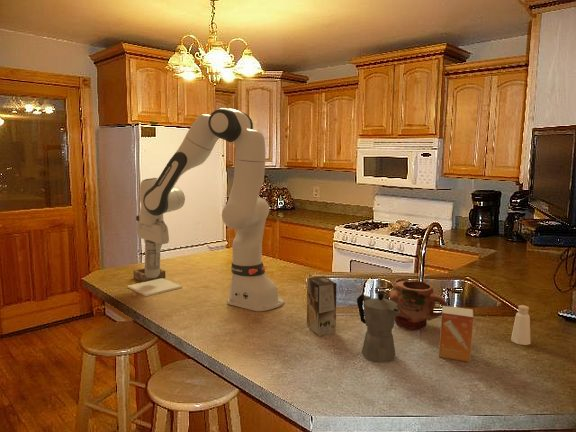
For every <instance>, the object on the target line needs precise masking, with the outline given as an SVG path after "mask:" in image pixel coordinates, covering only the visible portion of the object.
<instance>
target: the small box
mask: <svg viewBox="0 0 576 432" xmlns="http://www.w3.org/2000/svg"><path fill="white" fill-rule="evenodd" d="M441 309H442V310H441V311H442V315H441V320H440V335H439V351H438V358H443V359H444V358H445V359H448V360H449V359H451V360H456V361H462V362H467V363H470V362H471V354H472V353H471V351H472V340H473V339H472V338H473V326H474V309H471V308H463V307H457V306H456V307H455V306H449V305H447V306H443V308H441Z"/></svg>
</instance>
